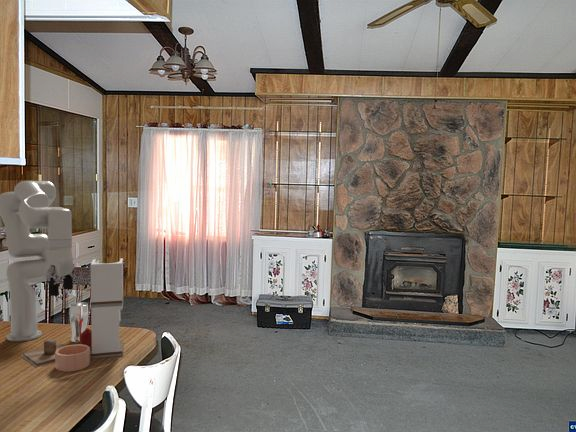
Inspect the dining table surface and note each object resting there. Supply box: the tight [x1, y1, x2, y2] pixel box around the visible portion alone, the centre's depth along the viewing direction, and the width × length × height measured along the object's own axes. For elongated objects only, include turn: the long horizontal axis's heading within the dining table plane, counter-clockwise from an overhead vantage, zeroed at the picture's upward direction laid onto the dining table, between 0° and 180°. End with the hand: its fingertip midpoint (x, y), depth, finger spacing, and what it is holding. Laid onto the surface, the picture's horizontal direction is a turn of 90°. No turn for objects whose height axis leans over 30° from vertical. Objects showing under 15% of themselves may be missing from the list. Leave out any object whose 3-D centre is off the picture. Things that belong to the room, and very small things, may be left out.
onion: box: [79, 326, 92, 348], centre depth 183 cm, size 6×6×8 cm
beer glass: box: [69, 301, 89, 343], centre depth 190 cm, size 7×7×15 cm
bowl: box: [54, 343, 91, 373], centre depth 164 cm, size 11×11×6 cm
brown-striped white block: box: [90, 257, 125, 359], centre depth 177 cm, size 11×11×35 cm
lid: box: [22, 338, 66, 367], centre depth 173 cm, size 14×14×6 cm
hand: (61, 292), depth 165 cm, fingers open, 9 cm apart
